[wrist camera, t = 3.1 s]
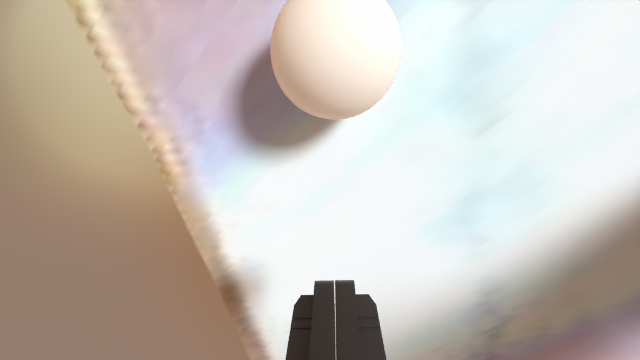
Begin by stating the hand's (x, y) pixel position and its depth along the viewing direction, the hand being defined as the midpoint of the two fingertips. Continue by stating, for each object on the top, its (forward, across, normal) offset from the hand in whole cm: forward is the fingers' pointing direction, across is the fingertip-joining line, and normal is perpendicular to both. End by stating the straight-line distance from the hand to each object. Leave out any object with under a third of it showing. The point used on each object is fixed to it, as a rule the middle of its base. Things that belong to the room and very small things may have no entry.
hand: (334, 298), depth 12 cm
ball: (+5, 0, -9) cm, 10 cm away
